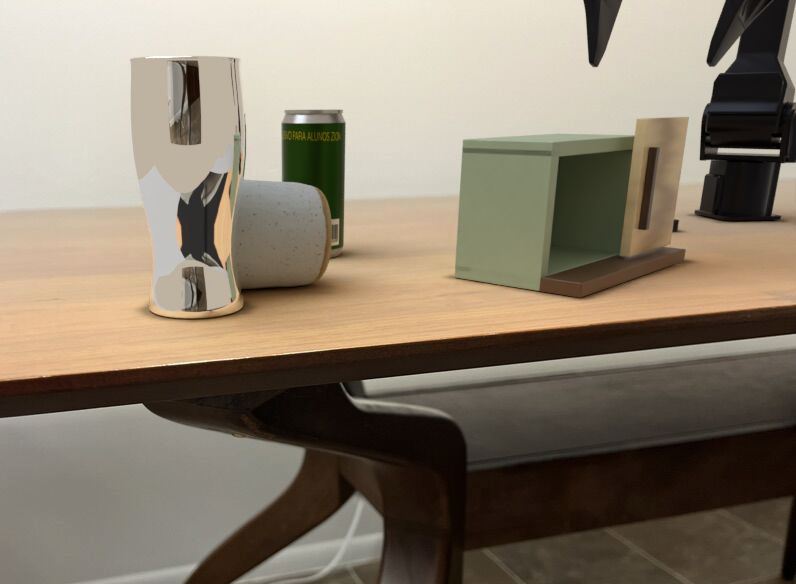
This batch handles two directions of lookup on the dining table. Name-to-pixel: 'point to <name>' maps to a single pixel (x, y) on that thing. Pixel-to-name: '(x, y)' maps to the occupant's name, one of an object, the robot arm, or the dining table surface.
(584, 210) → the cabinet
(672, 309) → the dining table surface
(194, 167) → the beer glass
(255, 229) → the ceramic mug
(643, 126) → the door
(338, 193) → the beer can
